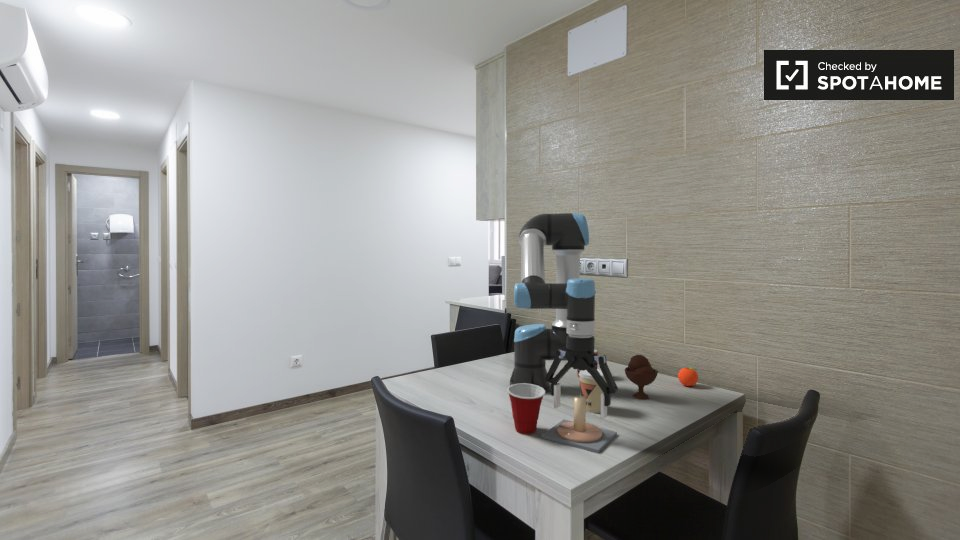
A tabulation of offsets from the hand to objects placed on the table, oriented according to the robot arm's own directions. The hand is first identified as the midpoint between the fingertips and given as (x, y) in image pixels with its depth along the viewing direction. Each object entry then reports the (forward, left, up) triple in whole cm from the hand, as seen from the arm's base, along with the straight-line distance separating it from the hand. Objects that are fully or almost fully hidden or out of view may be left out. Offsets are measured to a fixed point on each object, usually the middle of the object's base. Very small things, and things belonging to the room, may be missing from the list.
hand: (579, 412), depth 123 cm
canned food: (-21, +57, -7) cm, 61 cm away
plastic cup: (-14, -5, -7) cm, 16 cm away
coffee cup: (-5, +23, -7) cm, 25 cm away
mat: (0, 0, -7) cm, 7 cm away
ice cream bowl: (+4, +44, -7) cm, 45 cm away
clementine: (+15, +68, -7) cm, 70 cm away
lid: (0, 0, -6) cm, 6 cm away
